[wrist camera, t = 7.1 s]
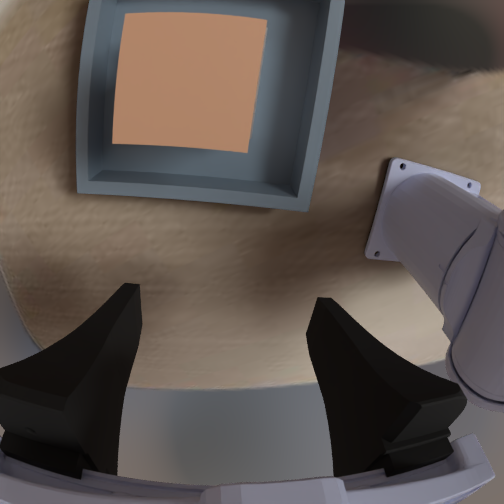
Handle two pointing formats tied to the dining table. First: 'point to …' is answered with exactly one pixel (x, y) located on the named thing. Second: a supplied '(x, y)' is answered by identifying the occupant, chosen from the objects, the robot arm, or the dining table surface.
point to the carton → (187, 80)
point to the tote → (265, 120)
